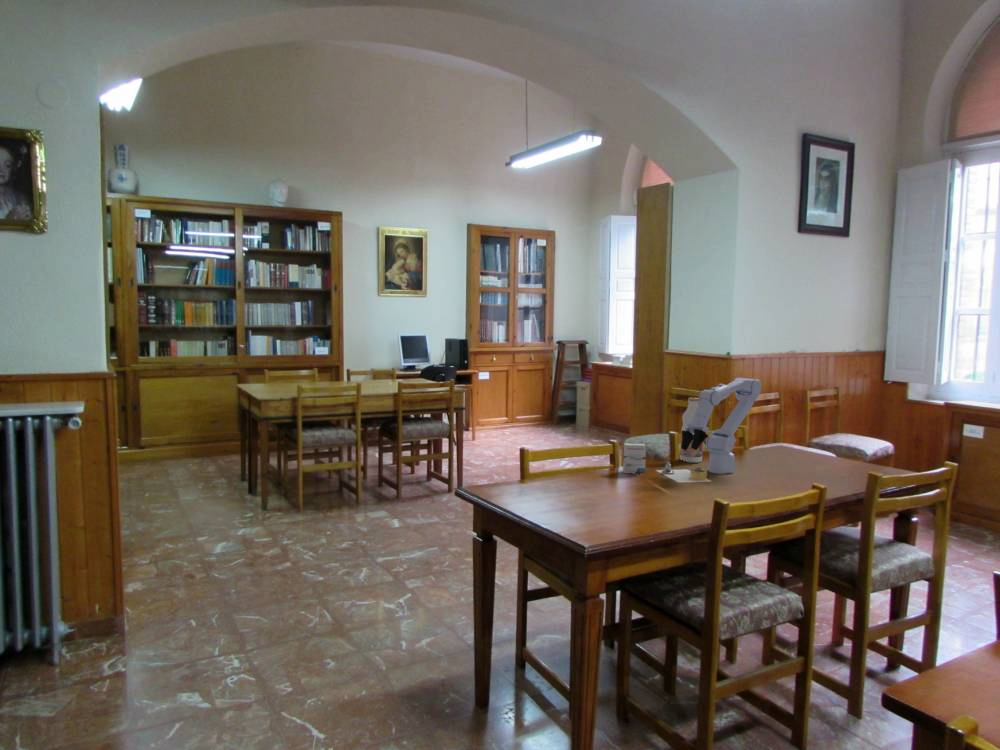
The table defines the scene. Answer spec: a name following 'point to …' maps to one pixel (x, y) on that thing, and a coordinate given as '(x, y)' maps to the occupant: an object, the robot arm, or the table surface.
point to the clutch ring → (698, 475)
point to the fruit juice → (687, 417)
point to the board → (683, 475)
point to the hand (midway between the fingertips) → (688, 449)
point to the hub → (668, 469)
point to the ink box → (634, 458)
